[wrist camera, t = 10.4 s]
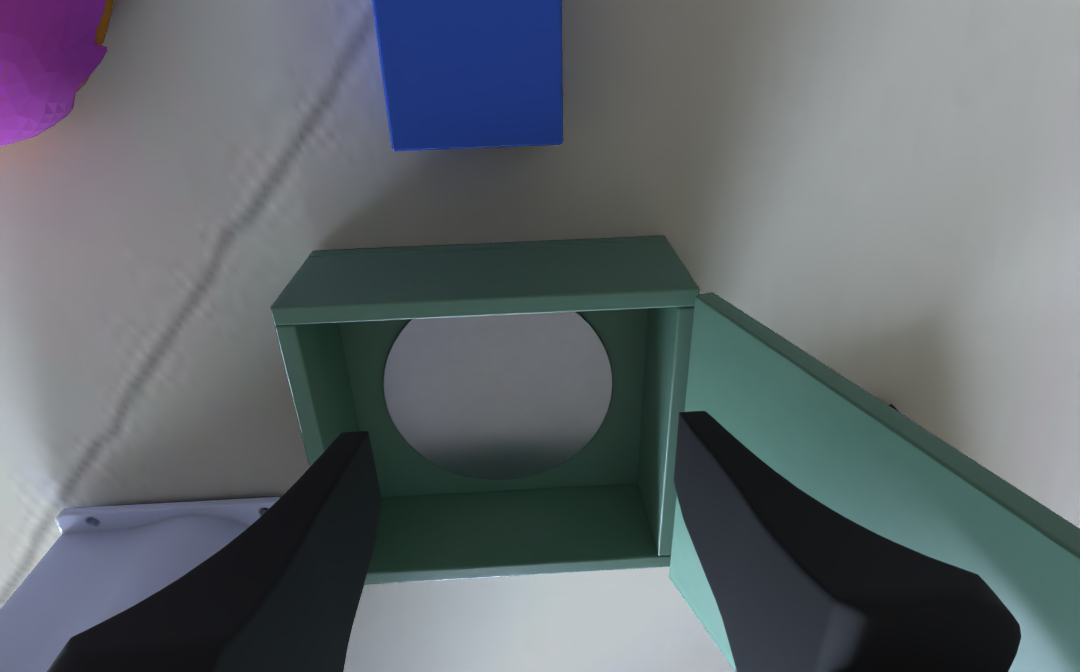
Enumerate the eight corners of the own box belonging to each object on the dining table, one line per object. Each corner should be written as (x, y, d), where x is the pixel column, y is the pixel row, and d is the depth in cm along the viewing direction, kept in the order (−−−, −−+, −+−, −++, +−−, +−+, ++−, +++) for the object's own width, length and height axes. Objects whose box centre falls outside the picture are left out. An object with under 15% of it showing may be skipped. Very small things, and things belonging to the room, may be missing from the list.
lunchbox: (363, 499, 27) (338, 587, 23) (312, 250, 22) (268, 307, 18) (648, 483, 28) (672, 567, 24) (664, 235, 22) (700, 288, 18)
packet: (409, 127, 20) (391, 152, 17) (376, -146, 17) (347, -178, 14) (554, 122, 20) (563, 145, 17) (549, -150, 17) (560, -183, 14)
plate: (399, 482, 26) (398, 485, 26) (367, 289, 22) (366, 291, 22) (609, 471, 26) (610, 474, 26) (615, 278, 22) (616, 280, 22)
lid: (1018, 1076, 12) (1040, 1060, 13) (1342, 733, 7) (1370, 713, 7) (668, 577, 23) (682, 572, 23) (694, 294, 18) (713, 291, 18)
